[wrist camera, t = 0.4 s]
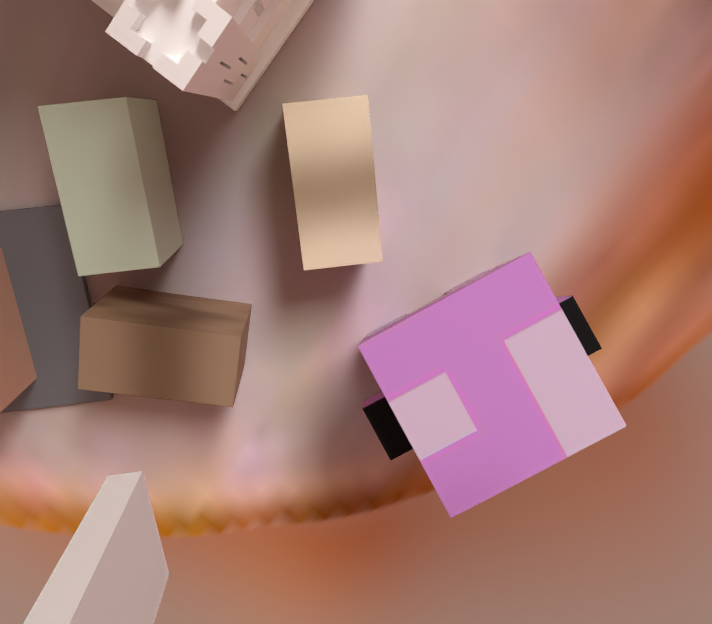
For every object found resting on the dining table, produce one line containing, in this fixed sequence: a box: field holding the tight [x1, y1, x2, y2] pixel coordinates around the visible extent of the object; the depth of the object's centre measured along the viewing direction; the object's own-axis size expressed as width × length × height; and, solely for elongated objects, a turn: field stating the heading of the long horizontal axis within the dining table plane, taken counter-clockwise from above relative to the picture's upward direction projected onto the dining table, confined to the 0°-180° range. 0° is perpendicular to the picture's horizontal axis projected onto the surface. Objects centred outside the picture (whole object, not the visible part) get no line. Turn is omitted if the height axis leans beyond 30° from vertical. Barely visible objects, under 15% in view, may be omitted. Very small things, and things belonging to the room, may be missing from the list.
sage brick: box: [37, 97, 183, 276], centre depth 33 cm, size 8×4×6 cm, turn 6°
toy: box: [358, 252, 626, 518], centre depth 33 cm, size 11×8×15 cm
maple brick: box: [282, 95, 383, 270], centre depth 33 cm, size 8×4×6 cm, turn 6°
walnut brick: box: [78, 286, 252, 407], centre depth 35 cm, size 8×4×6 cm, turn 81°
